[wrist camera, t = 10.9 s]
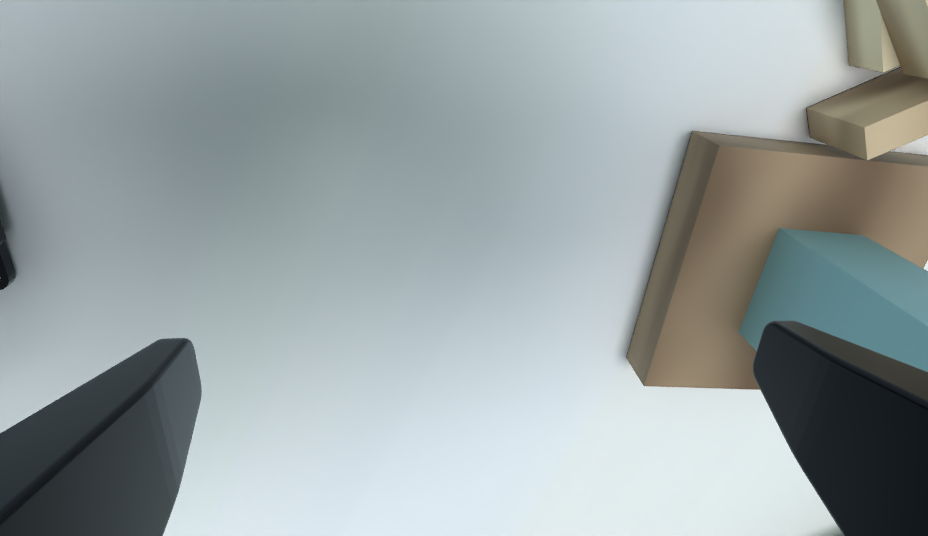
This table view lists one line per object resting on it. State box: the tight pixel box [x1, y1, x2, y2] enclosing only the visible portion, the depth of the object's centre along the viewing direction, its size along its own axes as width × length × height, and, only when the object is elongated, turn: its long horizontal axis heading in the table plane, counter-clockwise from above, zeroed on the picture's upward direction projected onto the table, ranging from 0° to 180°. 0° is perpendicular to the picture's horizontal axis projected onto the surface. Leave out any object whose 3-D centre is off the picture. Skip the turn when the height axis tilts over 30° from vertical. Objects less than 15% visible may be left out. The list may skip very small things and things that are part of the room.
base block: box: [626, 131, 928, 390], centre depth 24 cm, size 10×10×2 cm
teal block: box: [739, 228, 928, 372], centre depth 18 cm, size 4×4×10 cm
